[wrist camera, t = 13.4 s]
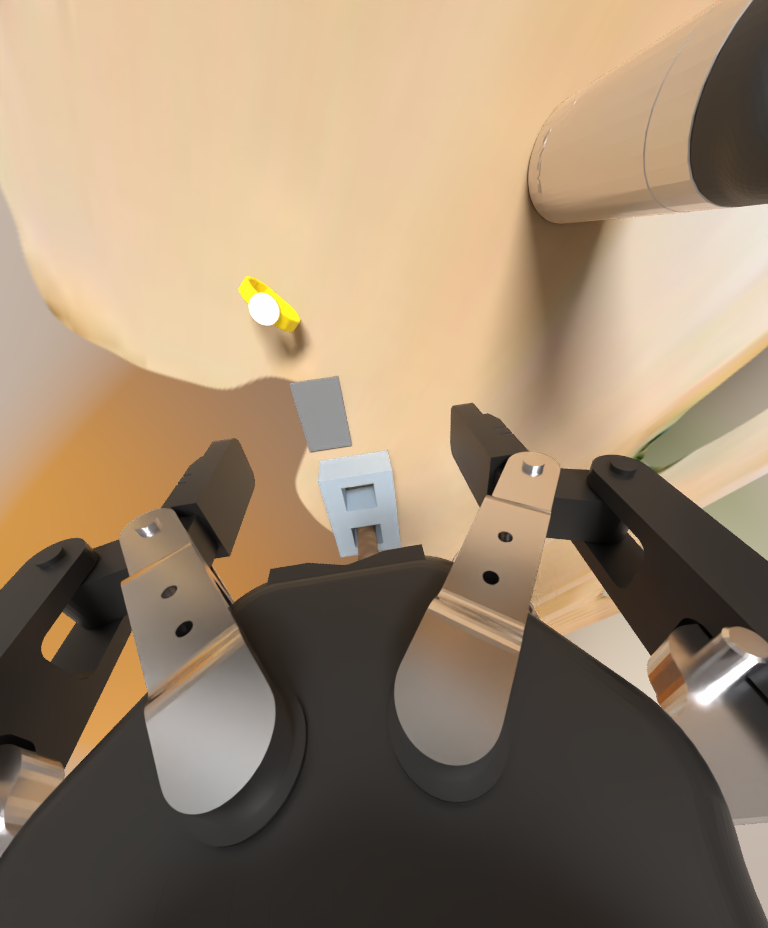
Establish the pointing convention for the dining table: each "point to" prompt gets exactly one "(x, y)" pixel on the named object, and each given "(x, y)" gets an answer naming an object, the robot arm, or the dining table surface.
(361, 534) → the dowel
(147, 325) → the dining table surface
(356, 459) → the hole block
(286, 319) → the watch
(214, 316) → the dining table surface
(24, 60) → the dining table surface
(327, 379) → the mat
